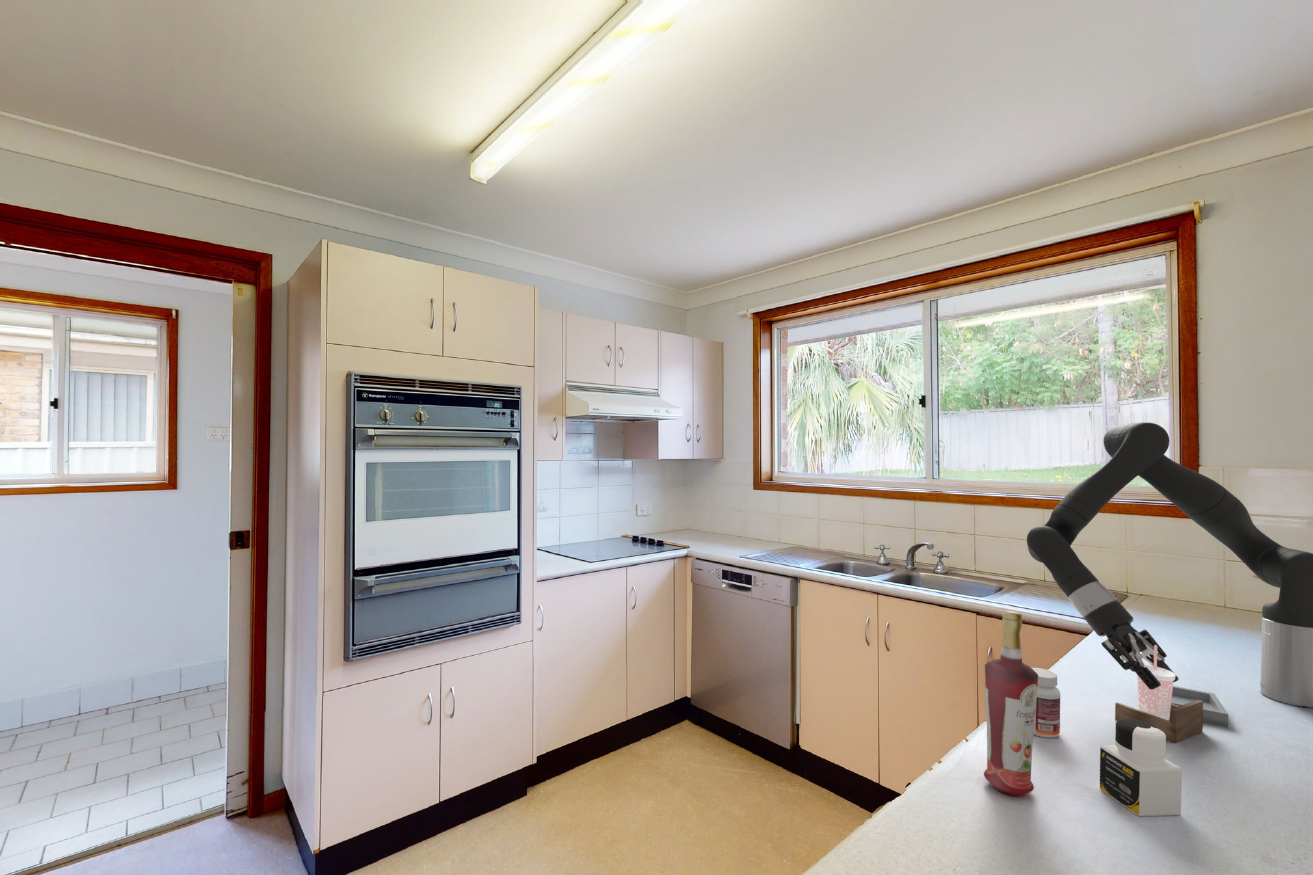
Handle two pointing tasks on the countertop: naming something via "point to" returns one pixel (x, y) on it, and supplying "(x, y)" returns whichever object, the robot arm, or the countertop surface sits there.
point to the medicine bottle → (1140, 770)
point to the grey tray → (1211, 704)
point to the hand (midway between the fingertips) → (1165, 684)
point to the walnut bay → (1180, 722)
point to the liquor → (1010, 713)
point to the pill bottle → (1047, 705)
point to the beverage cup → (1156, 691)
